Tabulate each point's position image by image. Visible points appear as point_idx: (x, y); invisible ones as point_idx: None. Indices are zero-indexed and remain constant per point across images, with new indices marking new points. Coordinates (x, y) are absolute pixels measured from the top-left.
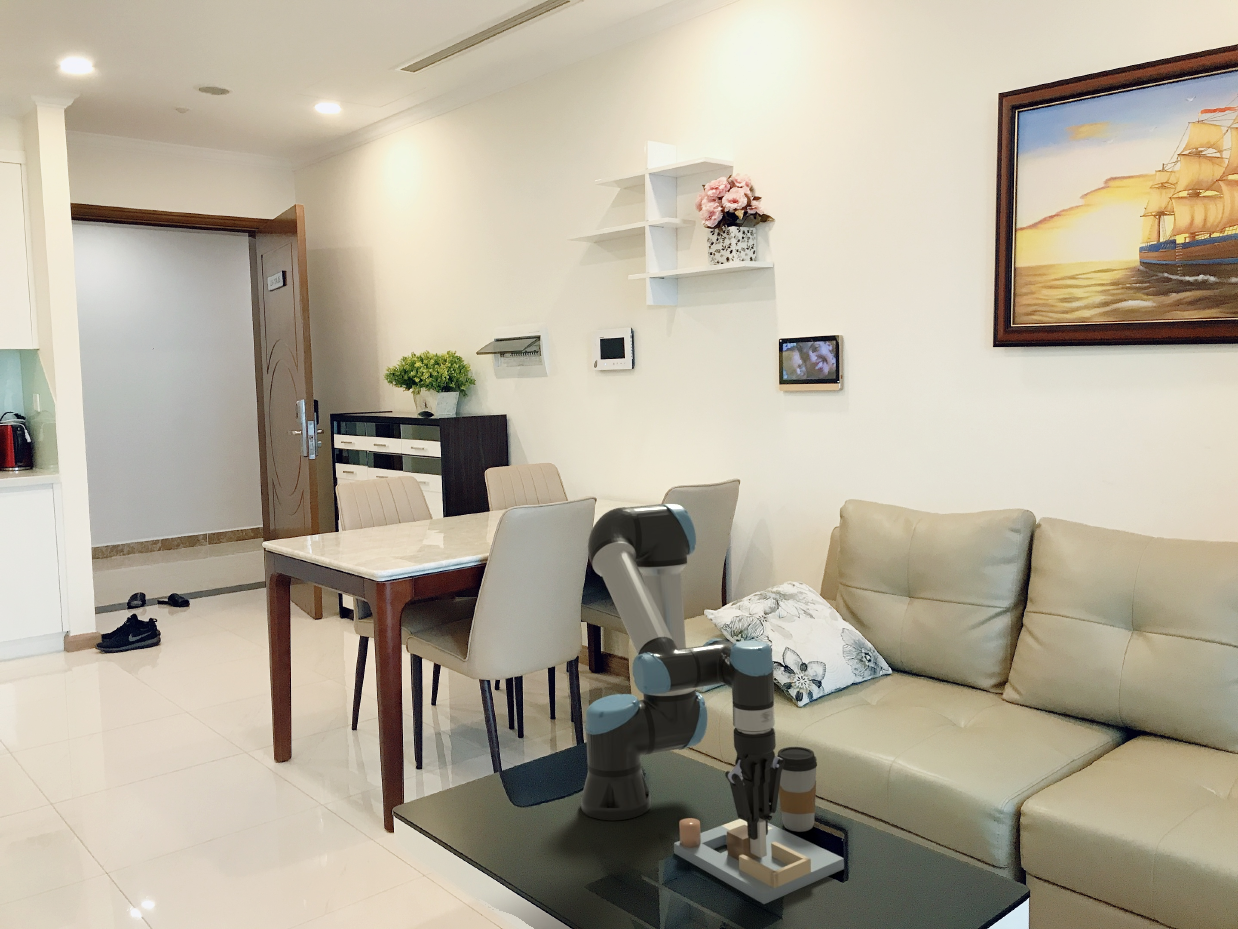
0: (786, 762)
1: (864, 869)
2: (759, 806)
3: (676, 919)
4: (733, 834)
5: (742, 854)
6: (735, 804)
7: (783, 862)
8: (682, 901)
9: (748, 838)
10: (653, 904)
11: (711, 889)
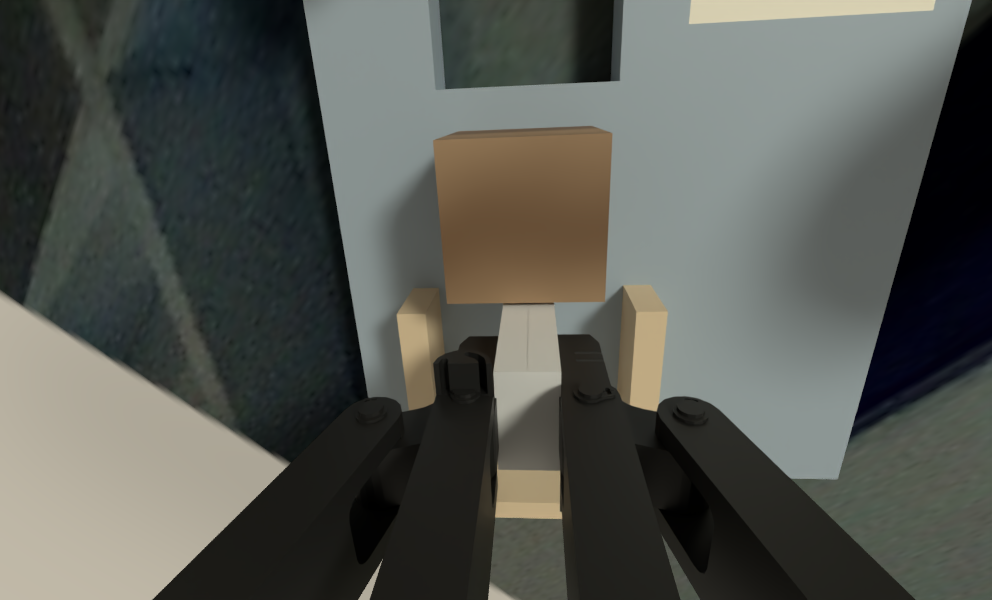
0: None
1: (862, 489)
2: (565, 493)
3: (79, 341)
4: (439, 214)
5: (420, 315)
6: (257, 506)
7: (617, 360)
8: (140, 259)
9: (493, 301)
10: (24, 208)
11: (284, 256)
